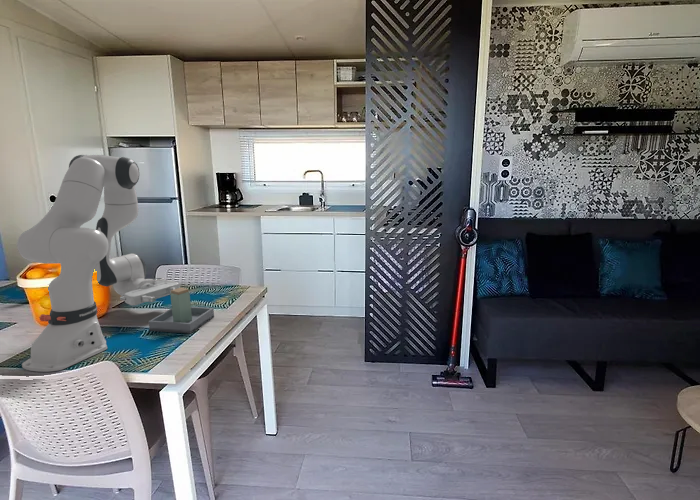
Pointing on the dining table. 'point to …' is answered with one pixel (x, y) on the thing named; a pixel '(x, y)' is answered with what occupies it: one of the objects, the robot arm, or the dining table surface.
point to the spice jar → (181, 305)
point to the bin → (167, 324)
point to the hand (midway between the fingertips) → (165, 296)
